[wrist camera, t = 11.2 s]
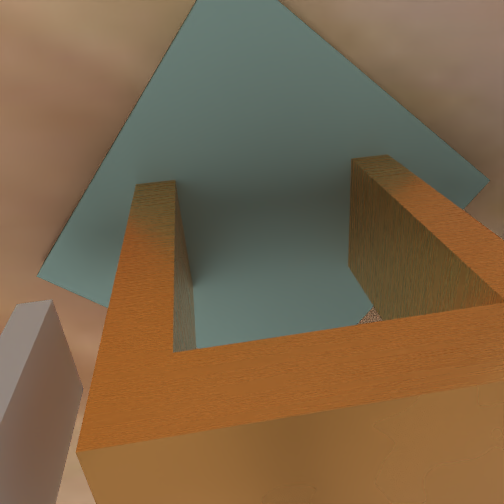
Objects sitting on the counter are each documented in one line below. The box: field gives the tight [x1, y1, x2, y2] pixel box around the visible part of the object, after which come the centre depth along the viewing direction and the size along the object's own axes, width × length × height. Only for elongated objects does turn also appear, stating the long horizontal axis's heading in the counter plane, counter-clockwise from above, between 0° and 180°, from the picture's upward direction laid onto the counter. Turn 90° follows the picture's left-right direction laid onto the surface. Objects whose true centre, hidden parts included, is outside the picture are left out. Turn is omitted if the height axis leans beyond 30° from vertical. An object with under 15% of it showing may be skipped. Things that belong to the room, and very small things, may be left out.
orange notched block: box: [76, 154, 504, 504], centre depth 11 cm, size 4×8×10 cm, turn 94°
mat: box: [37, 0, 490, 349], centre depth 16 cm, size 11×11×1 cm
